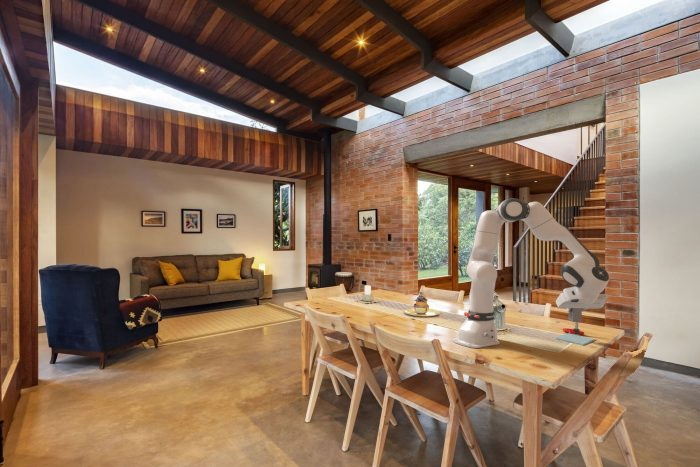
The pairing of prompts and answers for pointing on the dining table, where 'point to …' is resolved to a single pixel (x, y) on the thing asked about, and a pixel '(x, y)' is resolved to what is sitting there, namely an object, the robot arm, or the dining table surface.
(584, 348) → the dining table surface
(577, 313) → the link block
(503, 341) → the dining table surface
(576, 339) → the pad
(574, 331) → the tow hook
